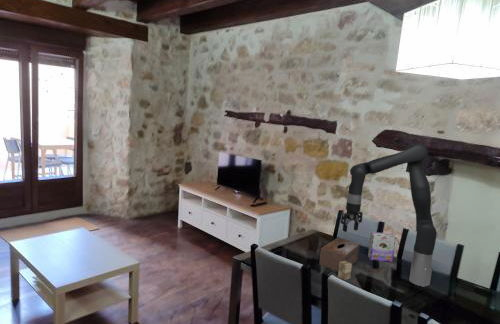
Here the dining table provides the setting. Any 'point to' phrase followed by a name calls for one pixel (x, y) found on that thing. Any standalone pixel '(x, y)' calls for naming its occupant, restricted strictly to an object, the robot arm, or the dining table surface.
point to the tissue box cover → (338, 253)
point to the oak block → (344, 270)
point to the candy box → (381, 247)
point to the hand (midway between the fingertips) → (350, 230)
